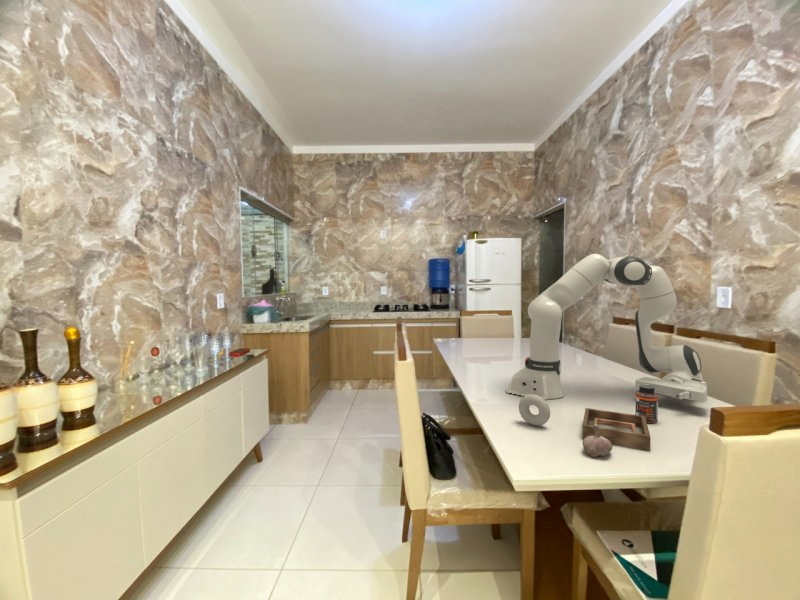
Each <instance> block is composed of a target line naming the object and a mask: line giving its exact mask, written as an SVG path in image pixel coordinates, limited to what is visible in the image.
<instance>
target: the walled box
mask: <svg viewBox="0 0 800 600" xmlns="http://www.w3.org/2000/svg"><path fill="white" fill-rule="evenodd" d="M594 424H597V425H598V427H599V433H600V436H602V437H604V438H606V439H608V440H609V441H610V442H611V444H612V446H613V445H614V446H620V447H624V446H625V447H624V448H630V449H631V448H632V449H635V450H641V451H646V452H651V434H650V430H649V426H648V423H647V422H646V418H645V416H640V415H635V414H634V413H633V414H632V413H626V412H625V413H624V412H617V411H609V410H602V409H596V408H589V407H585V409H584V415H583V421H582V440H584V439H585V438H586V437H588V436H595V428H594Z"/></svg>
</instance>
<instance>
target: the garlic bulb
mask: <svg viewBox="0 0 800 600" xmlns="http://www.w3.org/2000/svg"><path fill="white" fill-rule="evenodd" d="M594 428H595V436H588V437H586V438H585V439H582V447H583V448H582V449H583V450H584V451H585V453H587V454H589V456H591V457H592V458H597V457H599V456H602V457H603V456H607V455H609V454H610V452H612V451H613V444H611V442H610V441H609V440H608V439H606V438H604V437H602V436H600V433H599V427H598V425H597V424H594Z"/></svg>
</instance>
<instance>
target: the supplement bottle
mask: <svg viewBox="0 0 800 600" xmlns="http://www.w3.org/2000/svg"><path fill="white" fill-rule="evenodd" d="M639 389H640V390H639ZM639 389H638V390H637V391H636V392H635V410H634V411H635V414H634V415H640V416H645V418H646V422H647V424H652V423H653V424H657V423H658V419H659V412H658V411H659V396H658V393H655V392H654V391H655V390H654V389H655V388H654V387H653V386H650V385H640V386H639ZM653 424H652V425H653Z"/></svg>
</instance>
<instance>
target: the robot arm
mask: <svg viewBox="0 0 800 600" xmlns="http://www.w3.org/2000/svg"><path fill="white" fill-rule="evenodd" d="M602 281H605V282H607V283H610V284H613V285H614V284H615V285H617V286H618V285H619V286H633V287H634V288H635V290H636V292H637V296H638V298H639V299H638V300H639V303H640V304H639V305H640V306H639V309H638V310H637V311H635V315H634V316H635V317H634V319H635V320H634V321H635V331H636V338H637V339H636V340H637V345H638V362H639V366H640V367H641V368H642V369H644V370H645V371H647V372H649V373H650V374H653V373H654V374H655V373H665V372H669V373H668V374H666V375H664V376H663V377H662V378H661V379H660V378H659V379H658V378H653V377H647V376H645V377H639V378H637V379H635V383H634V385H635V388H636V389H637V390H638V391H639V390H640V389H639V386H640V385H650V386H653V387H654V388H655V389H654V390H655V391H654V392H655V393H656V394H660V395H664V396H668V397H670V398H672V399H677V400H684V399H685V400H687V401H689V400H690V401H694V402H698V403H705V402H707V401H708V384H707V382H706V381H704V380H703V375H702V373H701V371H702V362H701V358H700V355H699V353H698V352H697V351H696V350H695V349H693V348H692V347H690V346H689V345H686V344H682V345H681V344H680V345H671V346H668V345H667V346H655V345H653V340H652V332H651V326H652V324H654V323H655V322H657V321H659V320H661V319H663V318H665V317H667V316H669V315H670V314H672V312H673V311H675V309H676V307H677V304H678V301H677V299H678V298H677V295H676V292H675V290H674V287H673V284H672V282H671V280H670V278H669V277H668V274H667V273H666V271H665V270H664V268H662V266H657V265H648V264H647V263H646V261H644V260H643V259H641V258H639V257H637V256H627V255H625V256H624V255H623V256H616V257H611V258H606V257H605V256H603V255H602V254H599V253H591V254H589V255H587V256H585V257H584V258H582V259H581V260H580V261H578V262H577V263H576V264H574V266H573V265H572V267H571V268H570V269H569V270H568V271H566V273H564V274H563V275H562V276H561V277H560V278H559V279H557V281H555V282H554V283H552V285H550V286H549V287H547V289H546V290H544V291H543V292H541V293H540V294H539V295H537V297H535V298H534V299H533V300H532V301H531V302H530V303H529V304H528V307H527V314H528V317H529V319H530V334H529V356H527V357H526V358H525V360H524V367H523V368H521V369H519V371H517V372H516V373H514V374H513V376H512V377H511V380H510V384H508V385H507V386H506V387H505V390H506V392H508V393H512V394H511V395H513V394H517V395H516V396H518V395H521V396H520V397H523V396H526V395H529V394H535V395H537V396H540V397H541V398H543V399H544V400H545V401H546V400H551V399H553V400H554V399H560V398H562V397H564V396H565V393H564V390H563V386H562V381H561V380H562V379H561V373H562V372H561V371H562V366H561V365H562V364H561V360H560V336H561V329H562V317H563V312H564V311H566V309H568V308H570V307H571V306H573V305H574V304H576V303H577V302H579V301H580V300H581V299H583V297H584V296H586V295H587V294H588V293H589V292H590V291H591V290H593V288H595V287H596V286H597V285H598V283H601V282H602ZM505 390H504V391H505ZM506 392H505V393H506ZM508 393H507V394H508Z"/></svg>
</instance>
